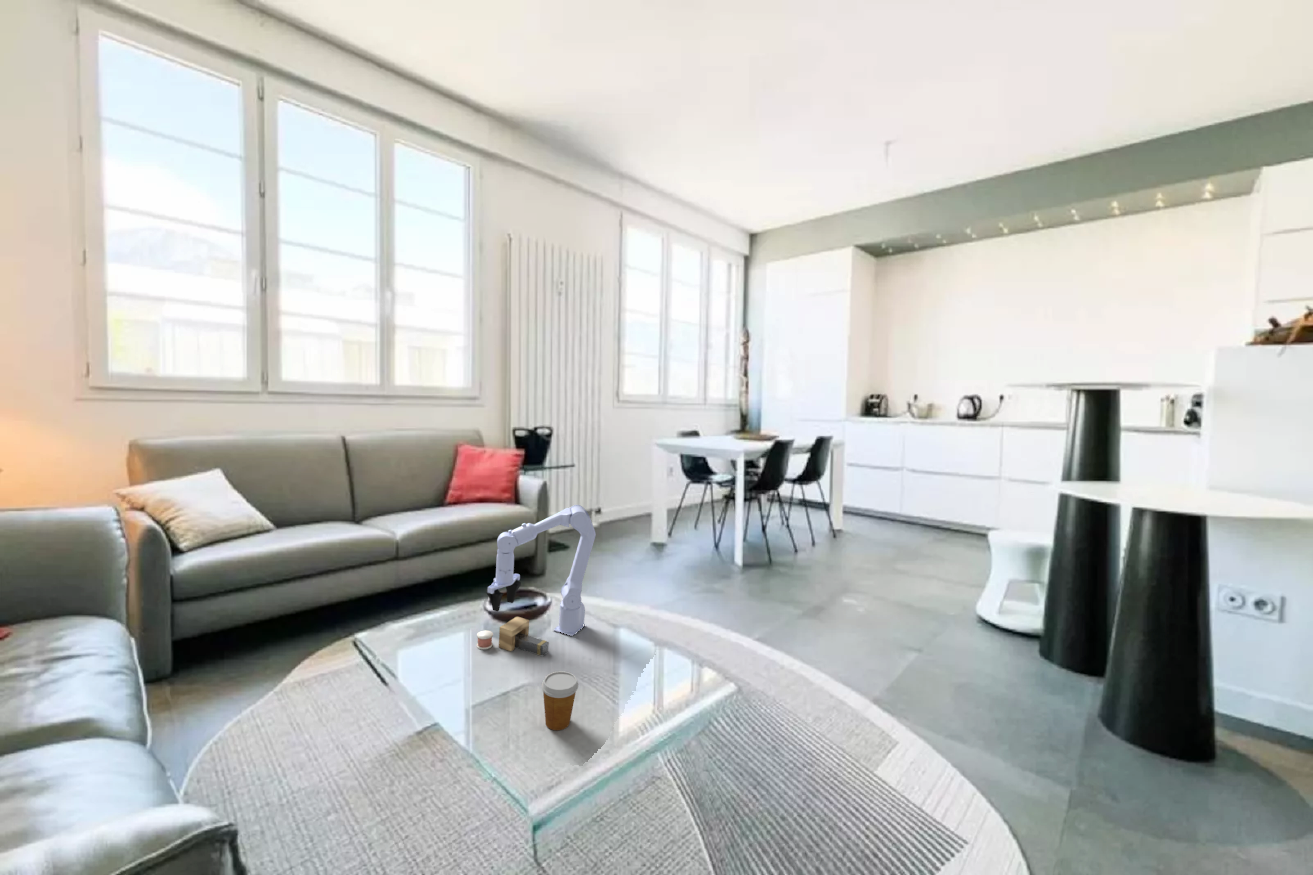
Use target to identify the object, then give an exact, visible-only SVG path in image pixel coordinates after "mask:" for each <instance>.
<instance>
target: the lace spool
mask: <svg viewBox="0 0 1313 875" xmlns="http://www.w3.org/2000/svg"><path fill="white" fill-rule="evenodd" d="M493 636H494V632H493V631H492V630H481V631H478V632H477V633H476V637H477V643H476V648H477V649H478V650H489V649H491V648H492V647H493Z"/></svg>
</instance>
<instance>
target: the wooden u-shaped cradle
mask: <svg viewBox="0 0 1313 875" xmlns="http://www.w3.org/2000/svg"><path fill="white" fill-rule="evenodd" d="M529 627H530V620H529V619H527V618H523V617H520V616H515V617H514V618H512V619H510V620H509V621H508V622H506V623H504V624H502V625H501V626H499V632H498V634H499V635H498V636H499V637H498V648H499V649H503V650H506V651H508V652H513V651H514V650H515V648H516V647H515V635H516V634H517V633H522V634H525V635H528V636H529V635H530V634H529V632H530V628H529Z"/></svg>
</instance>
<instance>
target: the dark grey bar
mask: <svg viewBox="0 0 1313 875" xmlns="http://www.w3.org/2000/svg"><path fill="white" fill-rule="evenodd" d="M515 648H516V649H520V650H522V651H525V652H528V653H531V654H534V655H538V656H541V657H544V656H545V655H546V654H547V653H549V648H550V642H549V641H547V640H545V639H540V638H537V637H534V636H530V635H529V634H528V635H525V634H522V633H517V634H516V635H515Z"/></svg>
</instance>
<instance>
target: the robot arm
mask: <svg viewBox="0 0 1313 875" xmlns="http://www.w3.org/2000/svg"><path fill="white" fill-rule="evenodd" d="M558 526H564V527H566V528H570V526H571V527H572V528H573V529H574V530H575V531H577V532H578V533H579V534H580V537H579V540H578V544H577V548H576V552H575V553H574V554H575V555H574V558H573V562H572V566H571V568H570V572H569V575H568V577H567V578H566V580H565V582H564V584H563V585H562V586H561V588H560V593H561V597H562V599H561V601H560V604H559V617H558V625H557V626H556V627H555V628H553V631H554V632H558V633H560V632H561V633H560V634H563V633H564V634H563V635H566V634H567V636H569V635H570V637H574V636H575V635H576V634H577V633H576V632H578V631H579V630H580V629H581V628H583V627H584V626H585V624H586V623H585V615H586V613H585V612H586V608H585V604H584V603H583V602H582V597H581V596H582V595H581V594H582V591H583V590H582V589H583V580H584V577H585V573H586V570H587V567H588V563H589V560H590V556H591V554H592V549H593V545H594V542H595V539H596V536H597V535H596V534H597V533H596V530H595V527H594V525H593V521H592V520H591V517H590V514H589V512H588V511H587V510H586V509H585V508H584V506H582V505H580V504H573V505H572V506H570V507H566V508H563V509H562V510H560V511H559V512H556V513H554V514H552V515H550V516H548V517H546V518H545V519H543V520H540V521H538V522H536V523H531V522H528V523H526V522H524V523H522V524H521V526H518V527H516V528H514V529H509V530H507V531H503V532H502V533H500V534H499V535H498V537H497V539H496V543H497V544H496V547H497V549H496V552H497V554H496V562H495V563H496V565H495V567H496V568H495V577H494V578H493V582H492V583H491V585H489V586H487V589H486V594H487V597H488V598H489V600H490V604H491V608H492V611H494V612H499V611H500V607H501V601H502V598H503V596H504V592H501V590H500V589H503V588H505V589H506V601H507V603H510V604H514V601H515V598H516V596H517V592H518V590H519V588H520V587H521V585H522V582H521V581H520V579H521V575H520V574H519V573H514V572H515V571H514V570H515V568H514V567H515V554H514V550H515V549H516V547H519V546H521V545H524V544H526V543H529V542H531V541H533V540H535V539H536V538H537V536H538V534H541V533H542V532H545V531H548V530H550V529H553V528H555V527H558ZM583 624H584V626H583ZM585 627H586V626H585ZM585 627H584V628H585ZM584 628H583V629H584ZM581 630H582V629H581ZM581 630H580V631H581ZM580 631H579V632H580ZM579 632H578V633H579ZM575 633H576V634H575ZM574 634H575V635H574ZM573 635H574V636H573Z"/></svg>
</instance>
